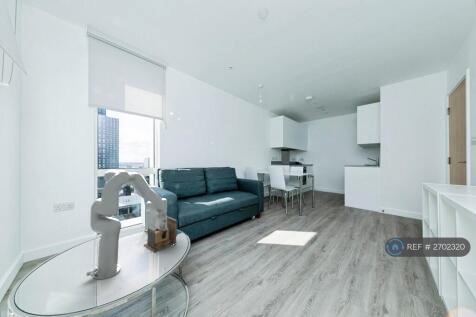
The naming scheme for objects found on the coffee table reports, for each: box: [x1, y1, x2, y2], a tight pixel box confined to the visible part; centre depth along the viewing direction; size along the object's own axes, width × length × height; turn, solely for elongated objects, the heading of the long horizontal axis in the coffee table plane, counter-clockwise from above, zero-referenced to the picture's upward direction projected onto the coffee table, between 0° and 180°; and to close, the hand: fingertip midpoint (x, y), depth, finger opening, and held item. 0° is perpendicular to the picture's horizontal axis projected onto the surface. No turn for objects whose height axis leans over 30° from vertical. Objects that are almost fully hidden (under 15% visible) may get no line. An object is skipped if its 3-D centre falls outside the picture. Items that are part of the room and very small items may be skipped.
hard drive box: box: [144, 209, 156, 231], centre depth 166 cm, size 16×8×20 cm, turn 84°
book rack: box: [143, 215, 178, 253], centre depth 139 cm, size 18×16×19 cm
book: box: [155, 229, 169, 244], centre depth 139 cm, size 12×4×10 cm, turn 142°
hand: (160, 236), depth 139 cm, fingers open, 9 cm apart
